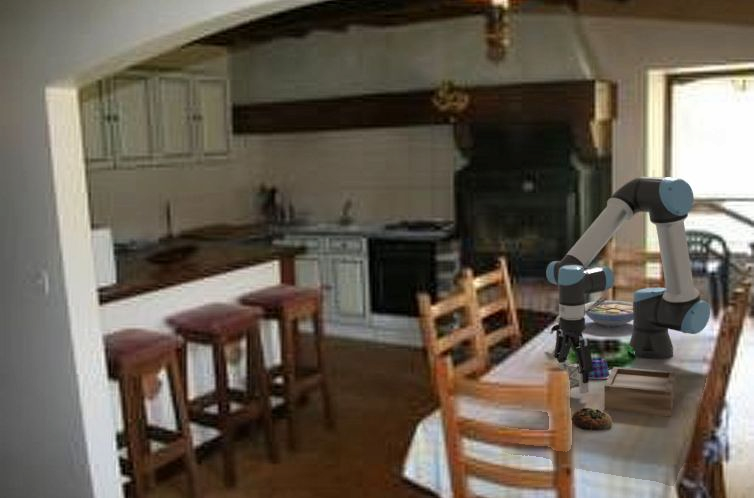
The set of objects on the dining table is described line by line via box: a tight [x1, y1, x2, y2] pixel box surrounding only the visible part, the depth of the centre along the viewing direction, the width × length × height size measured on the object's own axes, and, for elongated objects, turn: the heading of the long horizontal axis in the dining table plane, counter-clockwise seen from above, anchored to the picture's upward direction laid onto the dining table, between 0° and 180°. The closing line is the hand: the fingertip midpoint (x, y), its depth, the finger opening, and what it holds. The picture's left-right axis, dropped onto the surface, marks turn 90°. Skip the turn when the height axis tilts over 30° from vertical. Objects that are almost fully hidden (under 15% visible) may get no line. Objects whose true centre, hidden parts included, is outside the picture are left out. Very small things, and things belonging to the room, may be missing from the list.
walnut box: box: [603, 366, 676, 417], centre depth 229 cm, size 18×18×7 cm
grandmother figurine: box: [550, 315, 561, 340], centre depth 285 cm, size 8×4×13 cm, turn 71°
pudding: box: [589, 357, 612, 380], centre depth 255 cm, size 12×12×5 cm
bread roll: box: [571, 407, 613, 431], centre depth 216 cm, size 11×11×5 cm
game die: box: [563, 361, 581, 389], centre depth 237 cm, size 9×8×10 cm
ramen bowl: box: [585, 296, 633, 327], centre depth 313 cm, size 25×23×8 cm
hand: (573, 387), depth 237 cm, fingers closed on game die, 10 cm apart
